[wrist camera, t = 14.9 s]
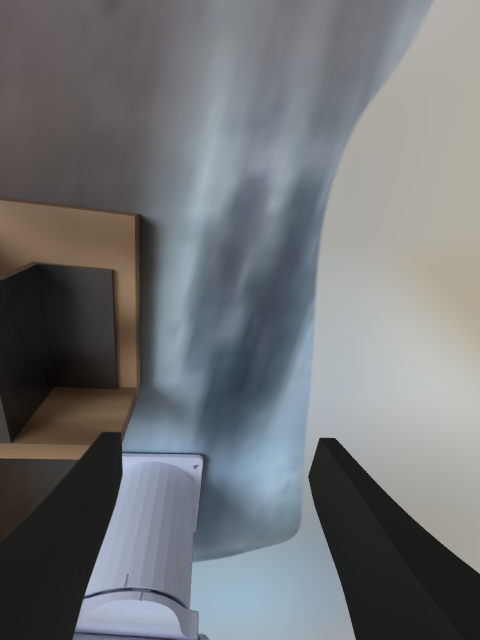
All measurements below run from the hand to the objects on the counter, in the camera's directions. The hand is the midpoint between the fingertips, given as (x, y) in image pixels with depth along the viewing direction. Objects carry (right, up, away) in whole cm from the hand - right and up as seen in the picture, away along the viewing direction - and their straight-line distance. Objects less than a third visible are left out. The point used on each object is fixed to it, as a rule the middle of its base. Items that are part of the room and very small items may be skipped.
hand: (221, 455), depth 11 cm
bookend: (-9, +4, +7) cm, 12 cm away
